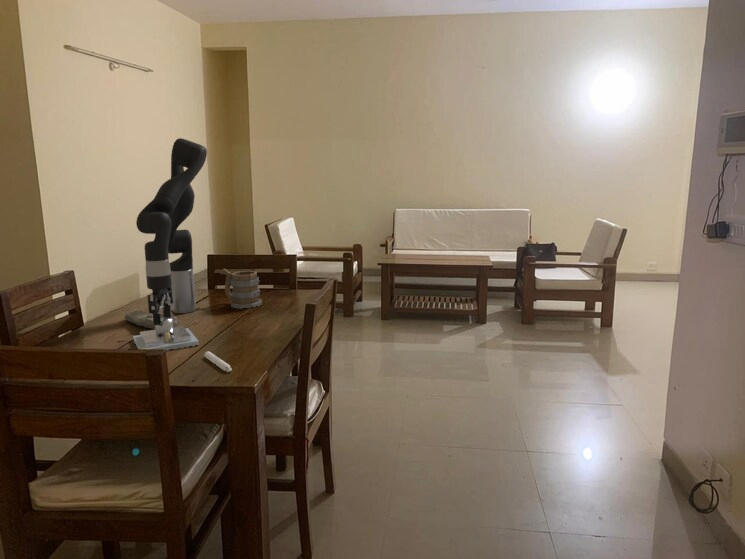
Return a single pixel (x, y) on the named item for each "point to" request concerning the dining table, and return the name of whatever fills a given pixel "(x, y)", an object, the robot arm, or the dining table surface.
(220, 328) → the dining table surface
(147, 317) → the long grey stone
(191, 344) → the base plate
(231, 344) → the dining table surface
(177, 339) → the flange plate
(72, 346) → the dining table surface
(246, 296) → the tankard
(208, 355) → the marker
